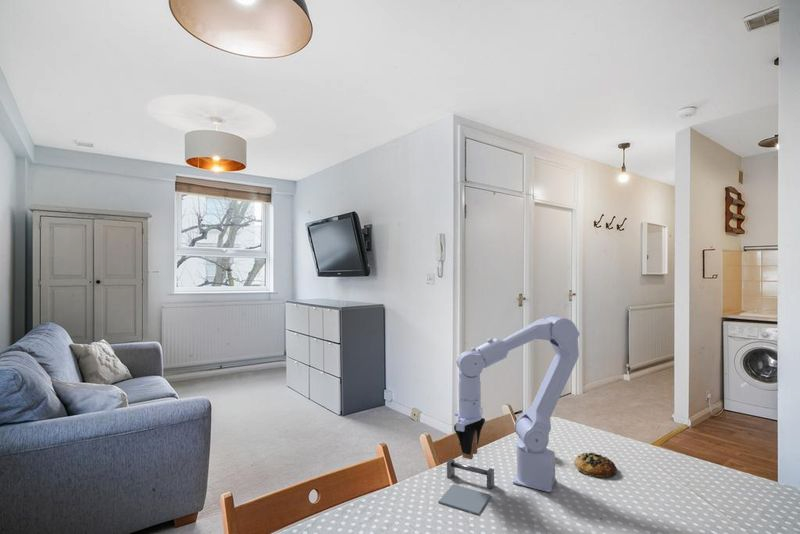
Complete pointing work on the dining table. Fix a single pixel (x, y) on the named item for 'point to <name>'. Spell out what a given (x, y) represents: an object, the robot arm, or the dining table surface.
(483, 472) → the bar stand
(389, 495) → the dining table surface
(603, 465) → the bread roll
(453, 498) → the mat
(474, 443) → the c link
